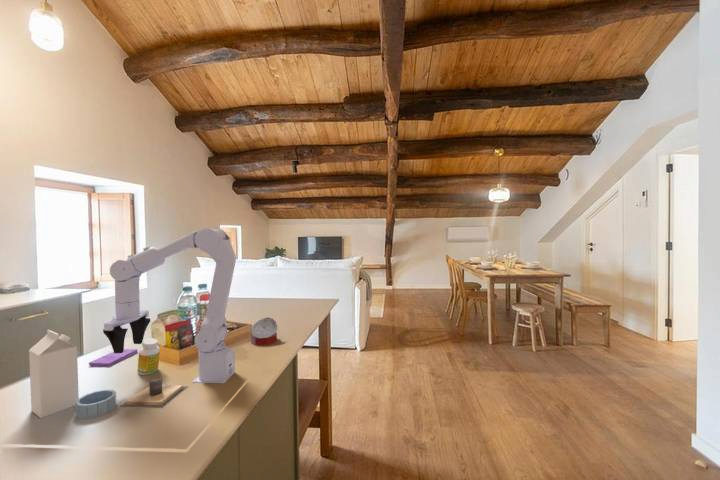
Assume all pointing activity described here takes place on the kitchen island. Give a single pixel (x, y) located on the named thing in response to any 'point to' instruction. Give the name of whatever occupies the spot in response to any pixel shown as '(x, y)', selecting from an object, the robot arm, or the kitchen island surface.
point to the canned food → (264, 332)
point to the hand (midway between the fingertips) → (128, 348)
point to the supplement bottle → (148, 357)
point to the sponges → (113, 358)
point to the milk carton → (53, 374)
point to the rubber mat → (156, 405)
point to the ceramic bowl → (95, 404)
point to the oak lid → (154, 394)
